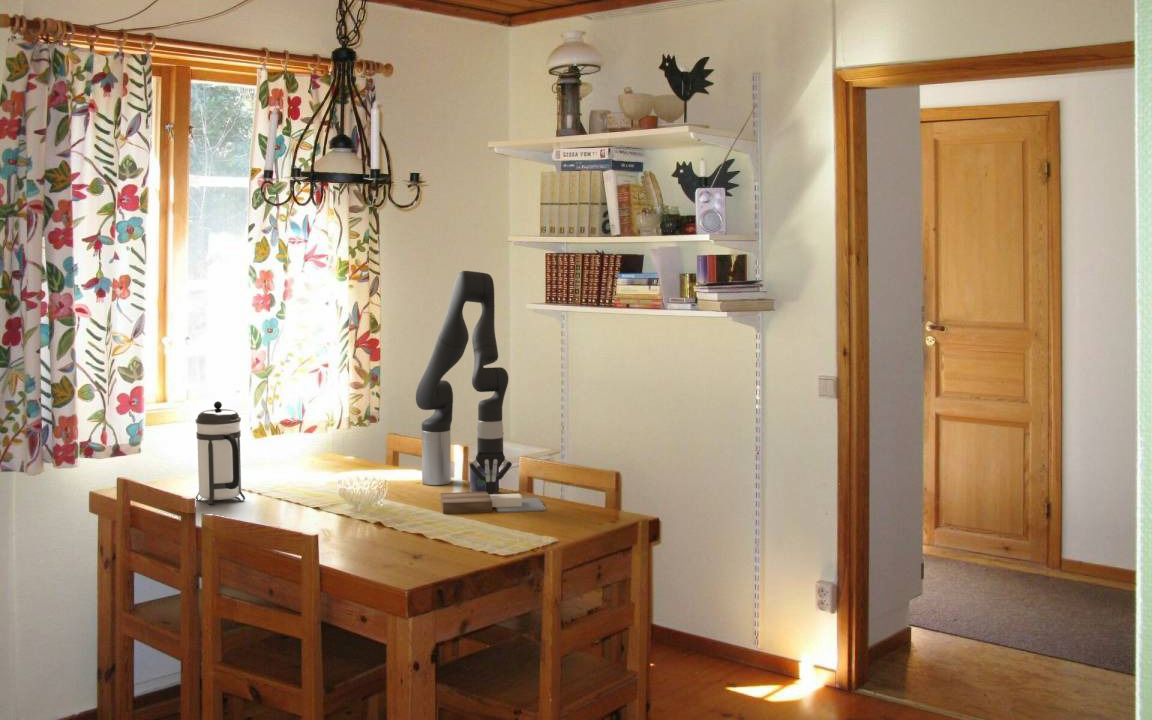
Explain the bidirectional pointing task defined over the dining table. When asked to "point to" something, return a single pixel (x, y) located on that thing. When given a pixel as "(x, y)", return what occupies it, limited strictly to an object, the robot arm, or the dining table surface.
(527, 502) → the mat
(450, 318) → the robot arm
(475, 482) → the flask
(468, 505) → the board
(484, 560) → the dining table surface
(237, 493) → the coffee press
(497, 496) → the tile
